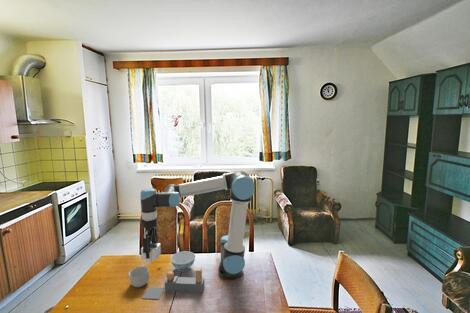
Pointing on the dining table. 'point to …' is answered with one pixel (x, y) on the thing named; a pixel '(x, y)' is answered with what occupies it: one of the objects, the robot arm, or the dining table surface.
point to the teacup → (139, 276)
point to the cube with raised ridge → (152, 251)
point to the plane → (185, 282)
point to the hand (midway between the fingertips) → (151, 259)
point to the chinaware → (183, 260)
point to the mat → (153, 293)
